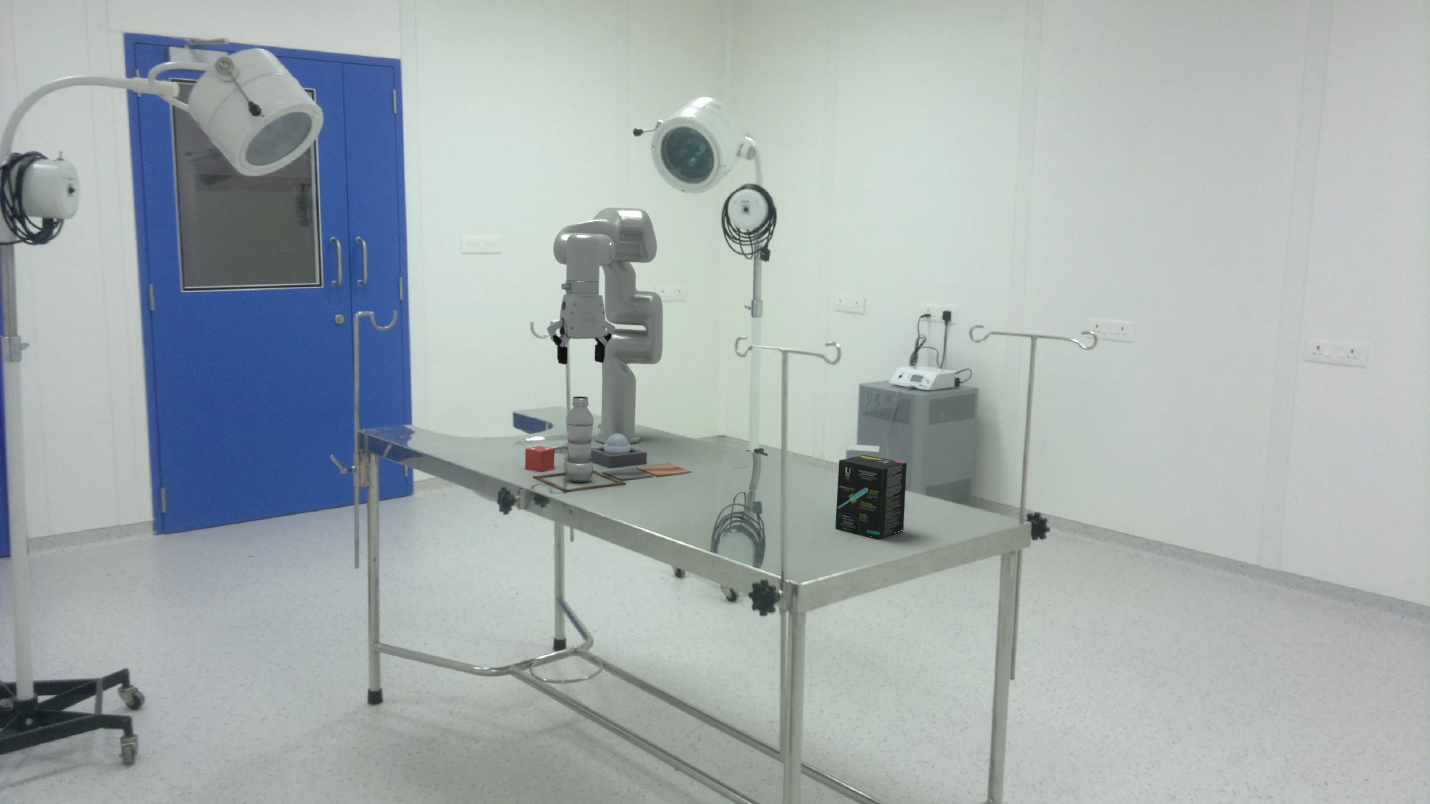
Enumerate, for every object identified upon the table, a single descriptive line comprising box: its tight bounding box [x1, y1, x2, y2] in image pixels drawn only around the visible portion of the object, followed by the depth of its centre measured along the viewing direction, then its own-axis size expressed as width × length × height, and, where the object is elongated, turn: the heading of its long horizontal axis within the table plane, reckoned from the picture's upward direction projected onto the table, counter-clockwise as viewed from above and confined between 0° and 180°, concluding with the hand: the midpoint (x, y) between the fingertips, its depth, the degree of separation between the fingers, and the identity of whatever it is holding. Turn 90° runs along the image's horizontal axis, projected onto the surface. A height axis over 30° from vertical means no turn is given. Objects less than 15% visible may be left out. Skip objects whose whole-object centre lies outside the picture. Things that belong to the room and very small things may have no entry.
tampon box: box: [834, 455, 907, 539], centre depth 217 cm, size 11×9×15 cm
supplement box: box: [845, 443, 881, 459], centre depth 240 cm, size 7×7×13 cm
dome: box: [603, 434, 632, 455], centre depth 273 cm, size 7×7×6 cm
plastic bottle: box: [564, 395, 595, 483], centre depth 249 cm, size 6×7×20 cm
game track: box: [532, 462, 692, 493], centre depth 257 cm, size 16×37×1 cm, turn 127°
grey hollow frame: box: [591, 446, 648, 469], centre depth 273 cm, size 11×11×3 cm
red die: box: [524, 445, 555, 473], centre depth 262 cm, size 5×5×5 cm
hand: (581, 362), depth 247 cm, fingers open, 9 cm apart
